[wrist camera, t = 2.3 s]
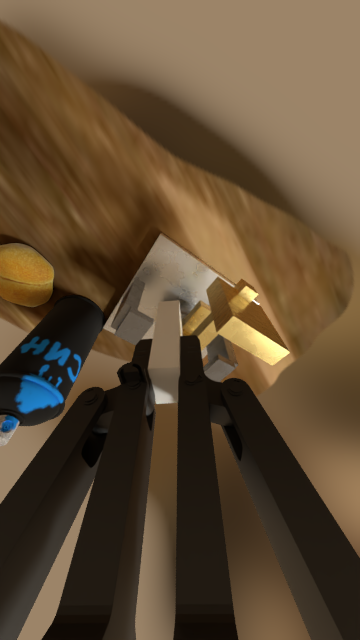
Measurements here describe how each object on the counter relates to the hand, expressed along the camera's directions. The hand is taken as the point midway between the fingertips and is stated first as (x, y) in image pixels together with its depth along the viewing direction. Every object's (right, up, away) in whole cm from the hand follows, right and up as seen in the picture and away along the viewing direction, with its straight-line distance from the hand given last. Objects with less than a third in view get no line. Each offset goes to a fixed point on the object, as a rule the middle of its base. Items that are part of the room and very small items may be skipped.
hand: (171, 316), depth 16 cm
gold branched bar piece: (+2, -1, +12) cm, 12 cm away
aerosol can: (-16, 0, +19) cm, 25 cm away
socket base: (0, +1, +19) cm, 19 cm away
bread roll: (-22, +7, +15) cm, 27 cm away
